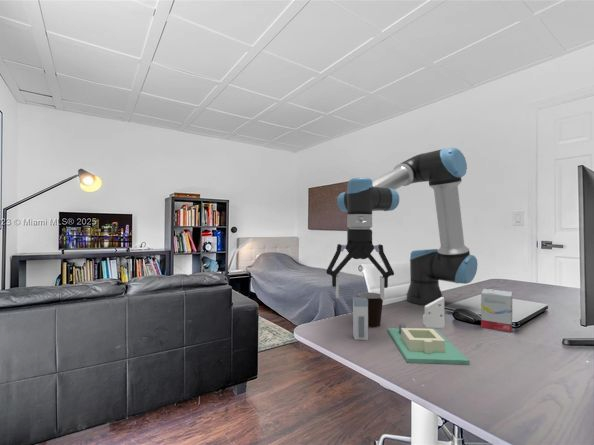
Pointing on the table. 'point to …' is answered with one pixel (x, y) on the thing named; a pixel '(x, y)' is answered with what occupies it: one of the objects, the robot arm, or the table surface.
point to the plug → (360, 318)
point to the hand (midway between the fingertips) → (359, 298)
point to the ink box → (496, 310)
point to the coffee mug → (373, 308)
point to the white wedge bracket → (434, 314)
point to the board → (425, 346)
